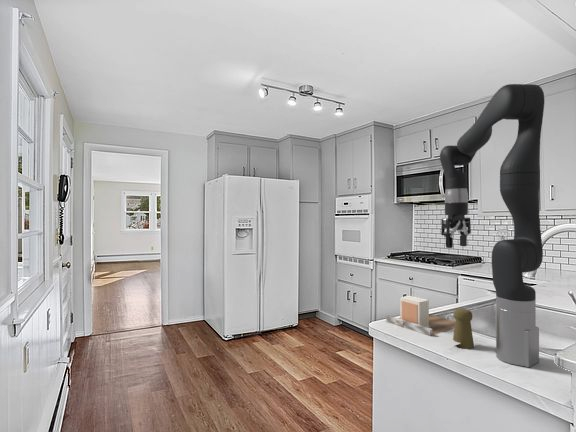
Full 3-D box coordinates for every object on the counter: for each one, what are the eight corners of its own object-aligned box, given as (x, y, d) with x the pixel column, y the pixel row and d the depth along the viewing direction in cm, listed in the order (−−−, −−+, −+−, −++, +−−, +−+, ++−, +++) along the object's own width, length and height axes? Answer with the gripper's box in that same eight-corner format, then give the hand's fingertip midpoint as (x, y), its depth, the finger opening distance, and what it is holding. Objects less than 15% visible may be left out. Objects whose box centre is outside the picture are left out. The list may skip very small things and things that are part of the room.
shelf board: (465, 328, 124) (465, 318, 124) (429, 340, 113) (429, 329, 113) (421, 316, 139) (421, 307, 139) (385, 325, 128) (385, 316, 128)
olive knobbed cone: (478, 348, 106) (477, 312, 106) (457, 349, 106) (457, 312, 106) (468, 341, 112) (468, 306, 112) (448, 341, 113) (448, 306, 112)
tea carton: (428, 326, 123) (428, 300, 122) (419, 329, 120) (418, 302, 120) (409, 320, 129) (409, 295, 129) (399, 322, 127) (399, 297, 126)
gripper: (457, 202, 134) (458, 244, 135) (434, 201, 127) (434, 247, 127) (477, 201, 128) (477, 246, 128) (454, 201, 120) (454, 249, 121)
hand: (456, 247), depth 128 cm, fingers open, 8 cm apart
